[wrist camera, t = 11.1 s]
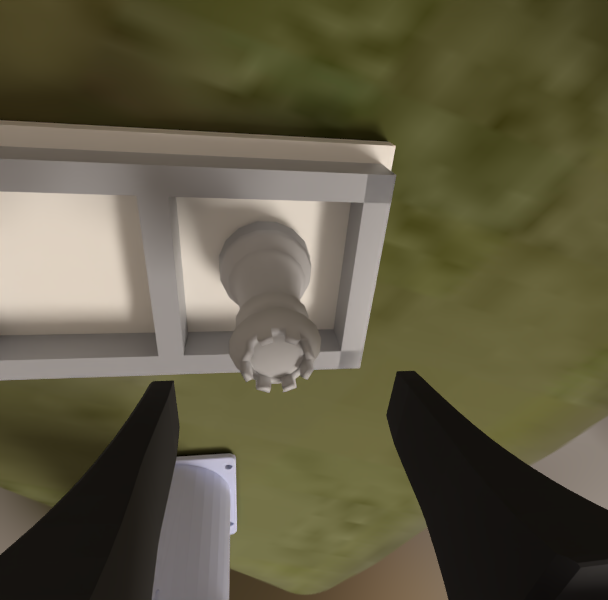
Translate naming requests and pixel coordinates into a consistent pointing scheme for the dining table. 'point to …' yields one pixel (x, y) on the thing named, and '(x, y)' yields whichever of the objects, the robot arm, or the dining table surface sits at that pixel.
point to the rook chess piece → (269, 304)
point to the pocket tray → (173, 243)
